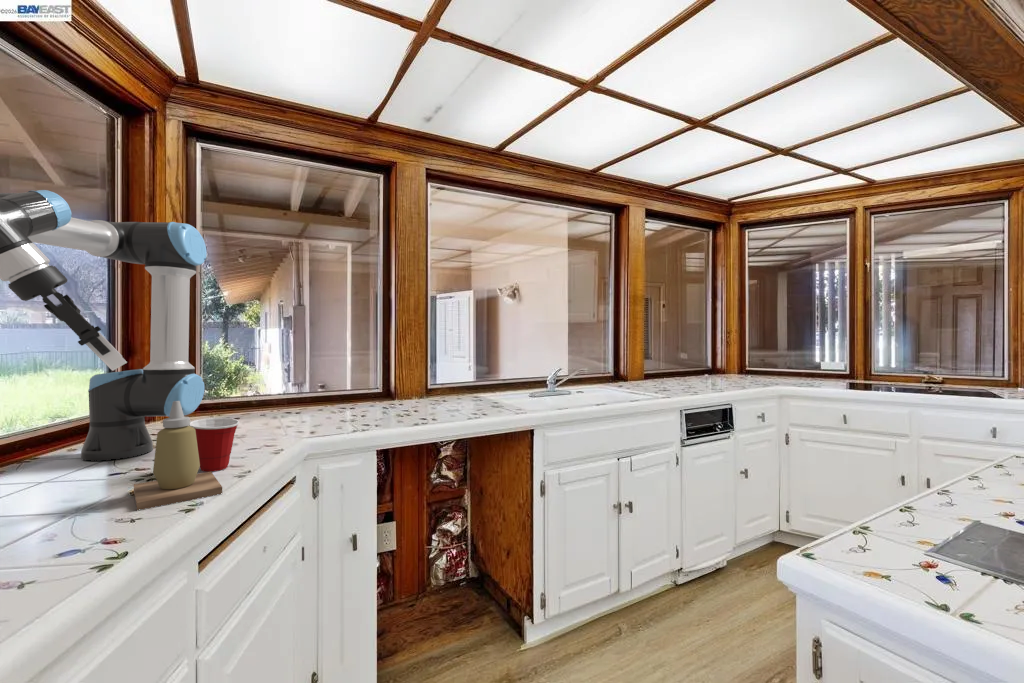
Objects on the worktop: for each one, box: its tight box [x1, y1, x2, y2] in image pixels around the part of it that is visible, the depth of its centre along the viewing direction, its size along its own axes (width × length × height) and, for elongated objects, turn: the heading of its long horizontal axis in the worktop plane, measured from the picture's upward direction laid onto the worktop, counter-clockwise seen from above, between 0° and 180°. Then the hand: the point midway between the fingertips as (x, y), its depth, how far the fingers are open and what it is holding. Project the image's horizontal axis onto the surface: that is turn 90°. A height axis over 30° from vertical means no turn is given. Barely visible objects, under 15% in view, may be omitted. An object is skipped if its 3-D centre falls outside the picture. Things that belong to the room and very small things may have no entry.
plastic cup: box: [189, 417, 241, 473], centre depth 115 cm, size 11×11×12 cm
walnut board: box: [133, 471, 223, 511], centre depth 98 cm, size 14×14×2 cm
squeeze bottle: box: [152, 401, 200, 489], centre depth 97 cm, size 8×8×18 cm
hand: (117, 363), depth 95 cm, fingers open, 13 cm apart
